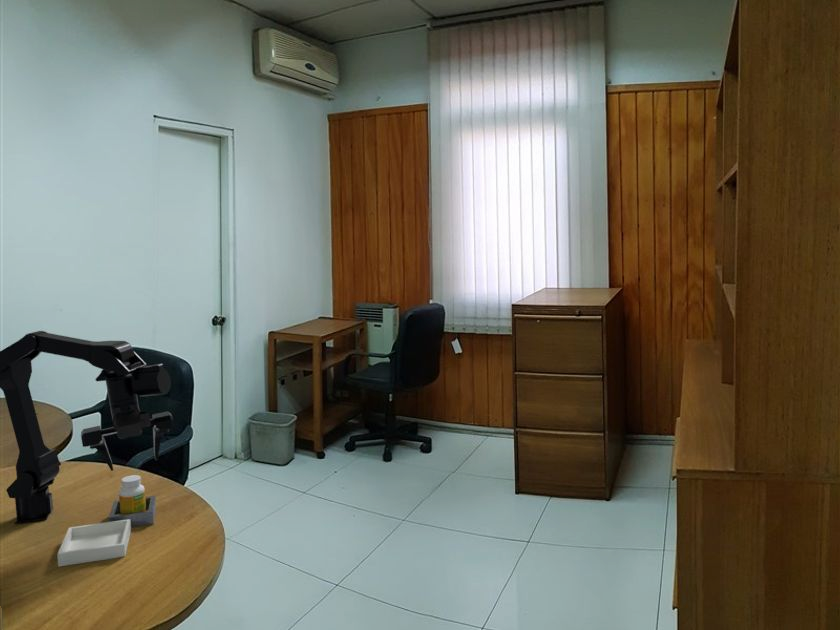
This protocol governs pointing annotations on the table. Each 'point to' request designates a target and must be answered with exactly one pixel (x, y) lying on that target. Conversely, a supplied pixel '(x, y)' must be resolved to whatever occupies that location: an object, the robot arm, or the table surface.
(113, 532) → the tray
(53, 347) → the robot arm
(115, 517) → the can holder
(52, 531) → the table surface
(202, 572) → the table surface
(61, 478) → the table surface
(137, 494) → the supplement bottle
